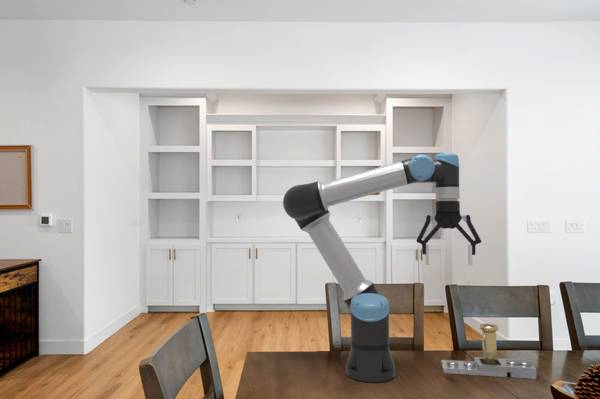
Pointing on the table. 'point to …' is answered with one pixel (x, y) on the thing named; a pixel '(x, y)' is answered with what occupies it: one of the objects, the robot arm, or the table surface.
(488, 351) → the brass pin
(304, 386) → the table surface
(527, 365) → the chain end
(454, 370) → the chain end
